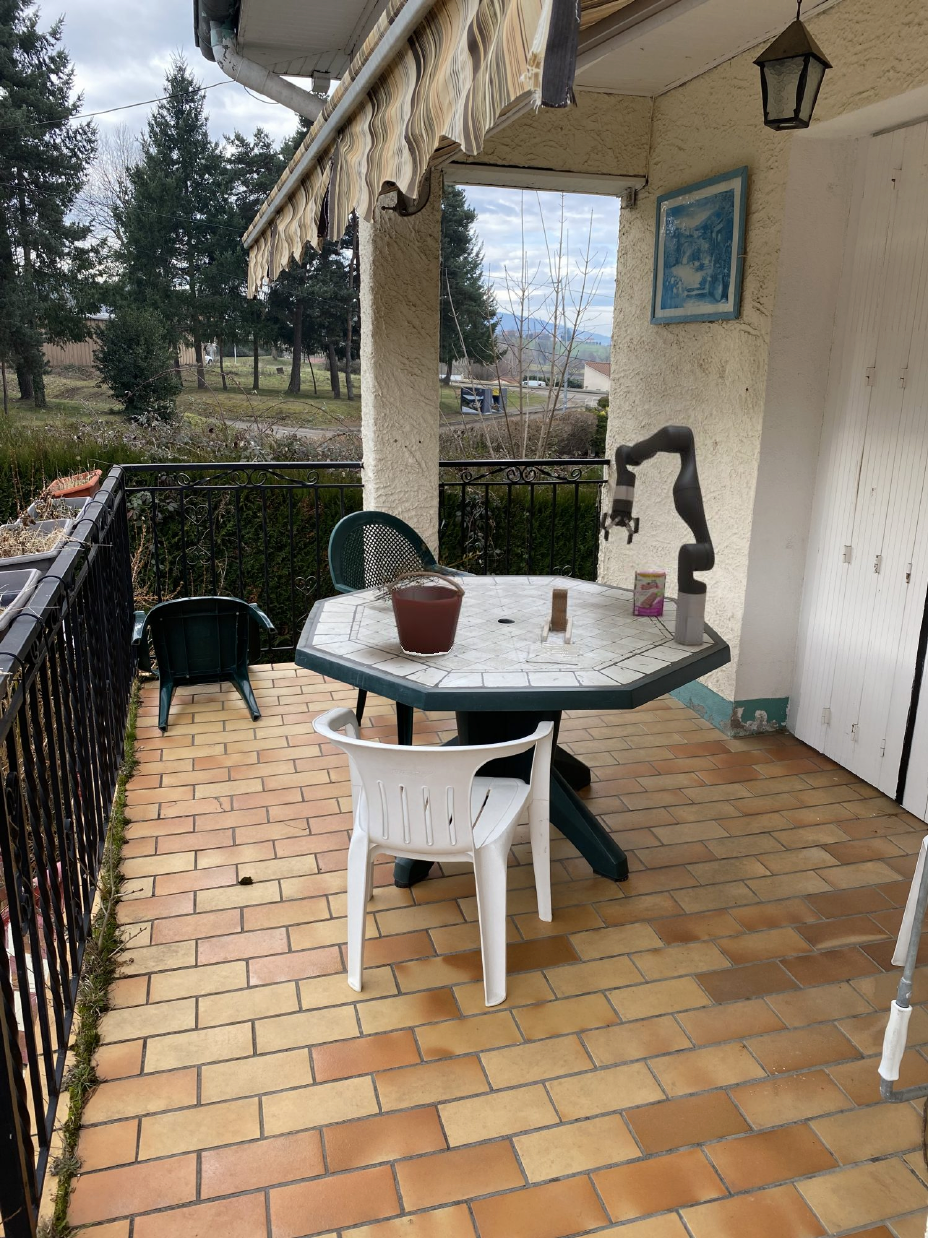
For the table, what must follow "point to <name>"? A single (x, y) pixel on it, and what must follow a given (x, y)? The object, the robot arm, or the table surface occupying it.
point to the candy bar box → (648, 593)
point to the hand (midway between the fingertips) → (617, 542)
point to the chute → (547, 626)
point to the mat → (567, 648)
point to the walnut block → (559, 609)
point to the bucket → (426, 614)
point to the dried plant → (415, 576)
